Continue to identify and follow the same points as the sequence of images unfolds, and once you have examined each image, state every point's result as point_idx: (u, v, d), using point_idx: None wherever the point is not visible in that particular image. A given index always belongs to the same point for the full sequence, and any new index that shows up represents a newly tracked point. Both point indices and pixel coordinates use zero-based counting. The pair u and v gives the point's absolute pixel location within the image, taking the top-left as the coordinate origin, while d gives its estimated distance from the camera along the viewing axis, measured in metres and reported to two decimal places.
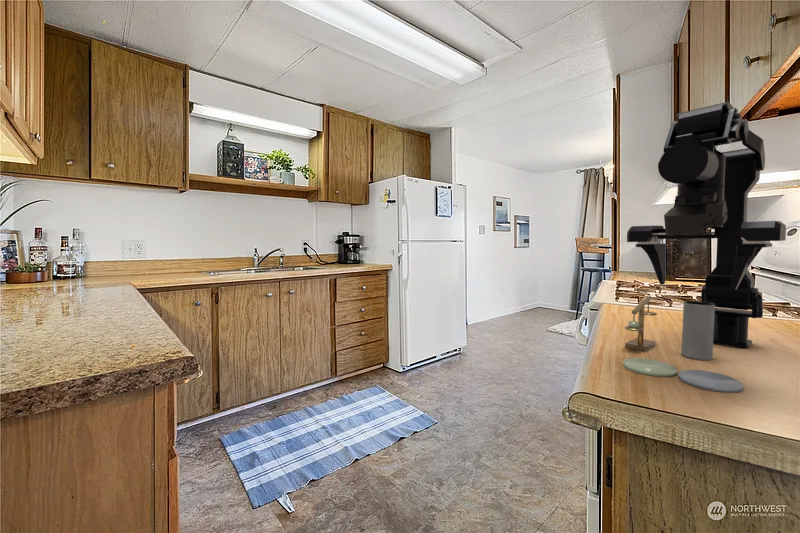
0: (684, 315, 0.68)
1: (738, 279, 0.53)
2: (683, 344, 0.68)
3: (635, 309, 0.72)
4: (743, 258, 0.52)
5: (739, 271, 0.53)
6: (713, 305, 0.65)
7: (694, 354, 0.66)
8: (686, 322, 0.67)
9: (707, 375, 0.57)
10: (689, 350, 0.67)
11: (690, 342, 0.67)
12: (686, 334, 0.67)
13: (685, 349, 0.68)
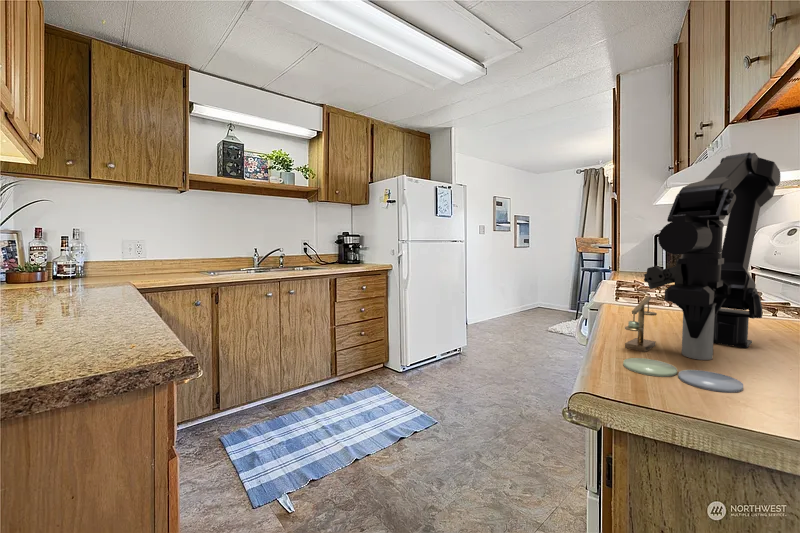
0: None
1: (688, 328, 0.66)
2: (683, 344, 0.68)
3: (635, 309, 0.72)
4: None
5: None
6: None
7: (694, 354, 0.66)
8: None
9: (707, 375, 0.57)
10: (689, 350, 0.67)
11: (690, 342, 0.67)
12: (686, 334, 0.67)
13: (685, 349, 0.68)
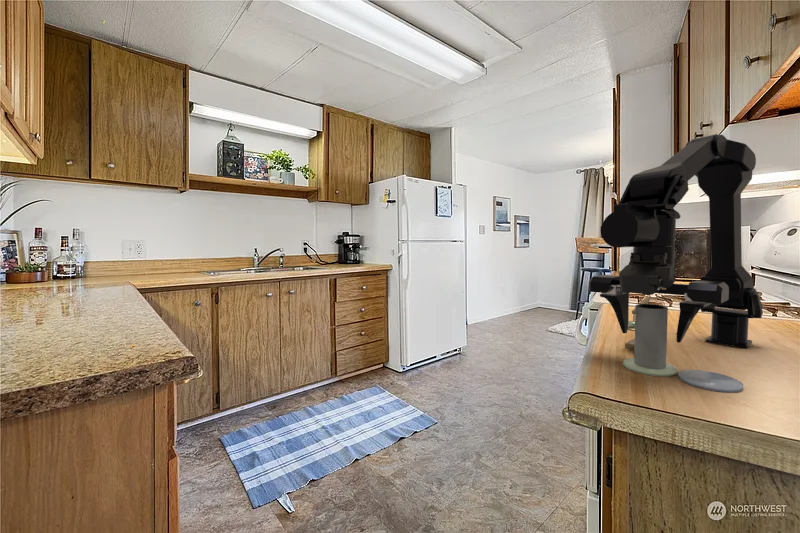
0: (656, 323, 0.59)
1: (682, 333, 0.57)
2: (656, 356, 0.60)
3: None
4: (685, 315, 0.56)
5: (682, 326, 0.57)
6: None
7: (665, 362, 0.60)
8: (660, 330, 0.59)
9: (707, 375, 0.57)
10: (663, 360, 0.60)
11: (664, 351, 0.60)
12: (661, 344, 0.59)
13: (660, 361, 0.60)
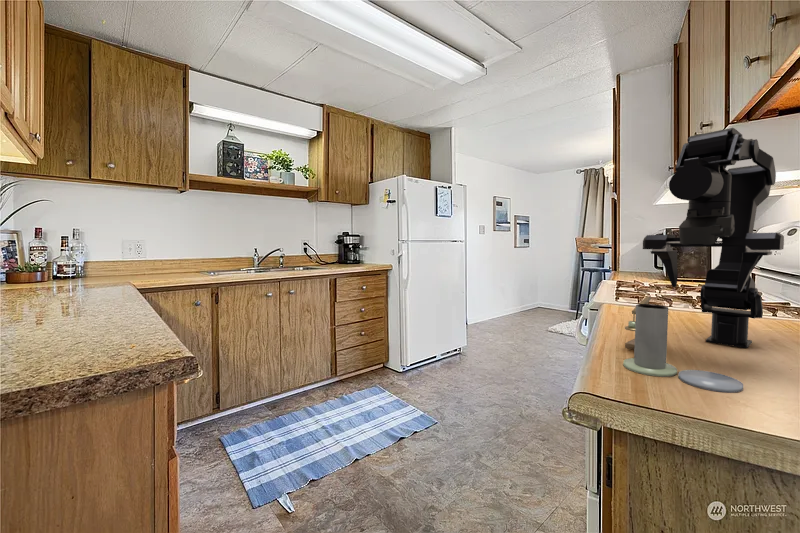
0: (657, 323, 0.59)
1: (743, 283, 0.61)
2: (656, 356, 0.60)
3: (635, 309, 0.72)
4: (747, 264, 0.60)
5: (744, 276, 0.61)
6: None
7: (665, 363, 0.60)
8: (660, 330, 0.59)
9: (707, 375, 0.57)
10: (663, 360, 0.60)
11: (664, 351, 0.60)
12: (661, 344, 0.59)
13: (660, 361, 0.60)
